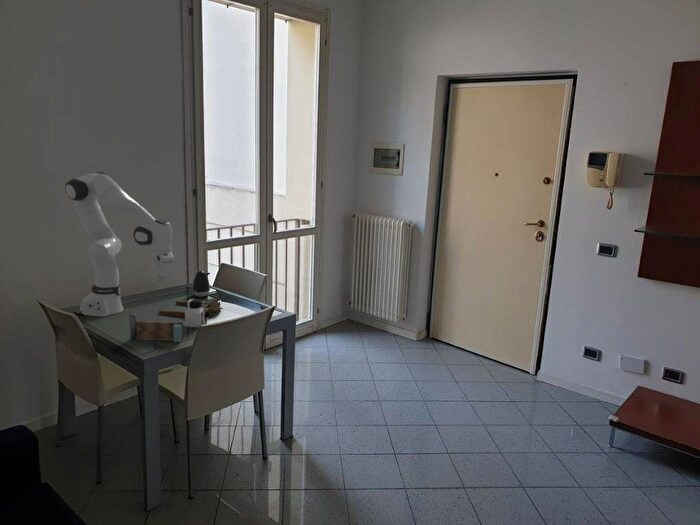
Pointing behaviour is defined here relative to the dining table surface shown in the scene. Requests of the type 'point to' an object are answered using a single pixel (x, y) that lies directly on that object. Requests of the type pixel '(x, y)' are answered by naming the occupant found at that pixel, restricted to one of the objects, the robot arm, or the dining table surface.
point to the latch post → (177, 332)
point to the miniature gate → (208, 307)
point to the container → (194, 313)
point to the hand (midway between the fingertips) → (161, 282)
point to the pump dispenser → (201, 284)
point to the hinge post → (133, 326)
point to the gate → (156, 330)
